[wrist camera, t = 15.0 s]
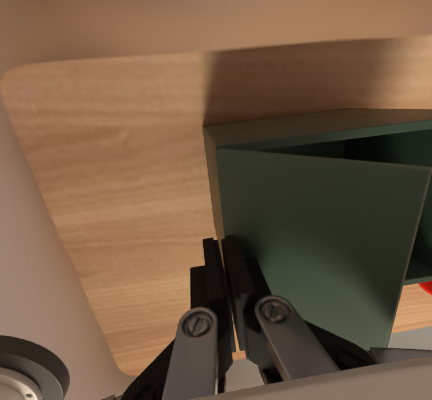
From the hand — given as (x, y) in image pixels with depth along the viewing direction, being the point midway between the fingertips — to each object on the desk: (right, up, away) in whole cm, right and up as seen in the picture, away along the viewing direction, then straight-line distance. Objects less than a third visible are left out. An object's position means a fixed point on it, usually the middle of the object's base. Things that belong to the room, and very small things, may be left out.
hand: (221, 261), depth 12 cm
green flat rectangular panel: (+3, 0, -2) cm, 3 cm away
